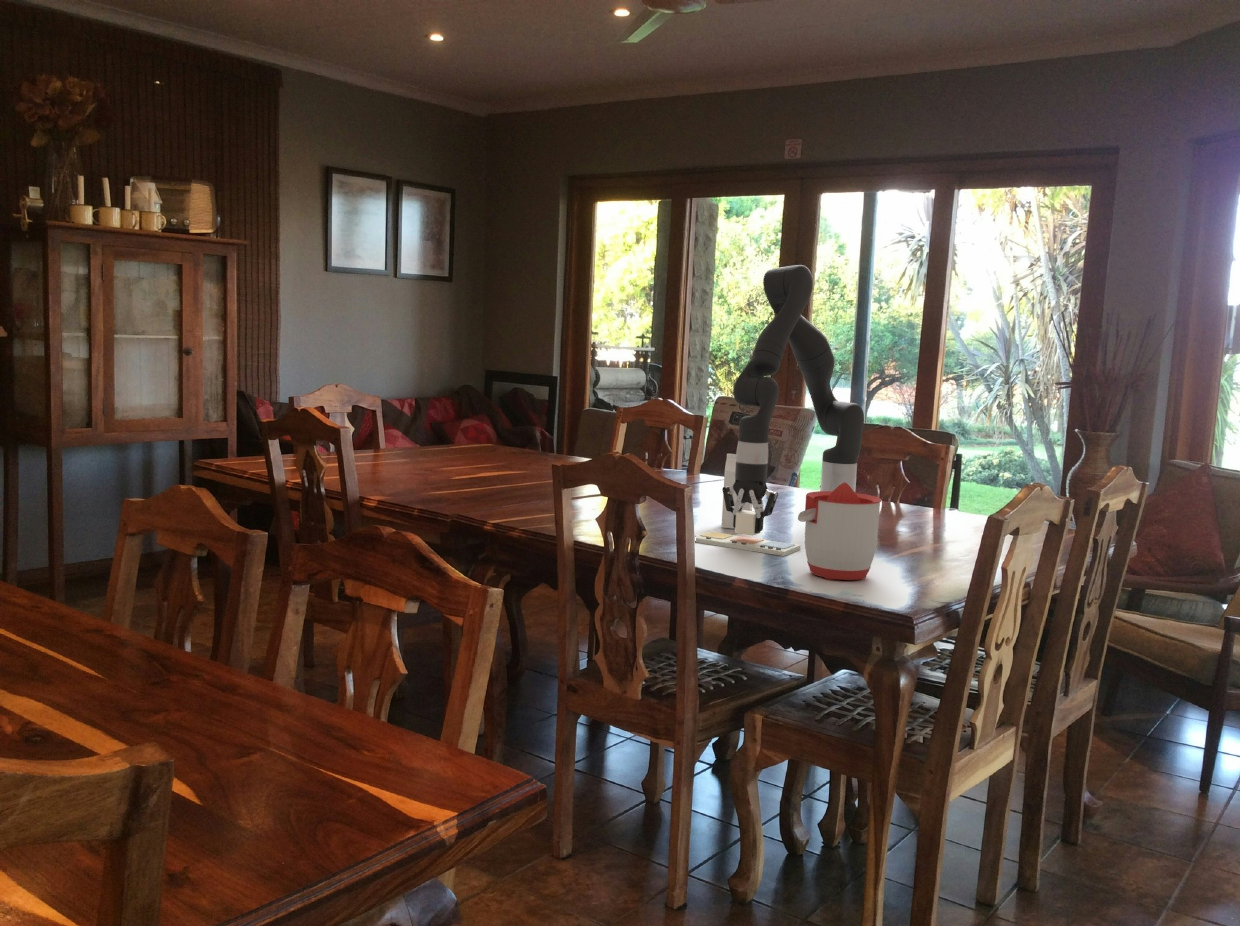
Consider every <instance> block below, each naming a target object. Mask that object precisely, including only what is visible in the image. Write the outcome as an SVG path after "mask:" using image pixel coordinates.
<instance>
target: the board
mask: <svg viewBox="0 0 1240 926" xmlns="http://www.w3.org/2000/svg"><path fill="white" fill-rule="evenodd" d="M695 536H696V542H695V543H698V544H699V543H700V544H705V545H710V546H711V545H712V546H718V547H724V548H731V549H737V550H743V551H750V552H755V553H756V552H757V553H762V554H768V555H775V556H782V557H786V556H787V555H790V554H792V553H796V552H797V551H799V550H801V545H800V544H794V543H788V542H781V541H775V540H769V539H761V538H754V537H749V536H741V535H737V534H735V535H734V534H729V533H722V532H714V531H706V532H703V533H701V534H697V535H695Z"/></svg>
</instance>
